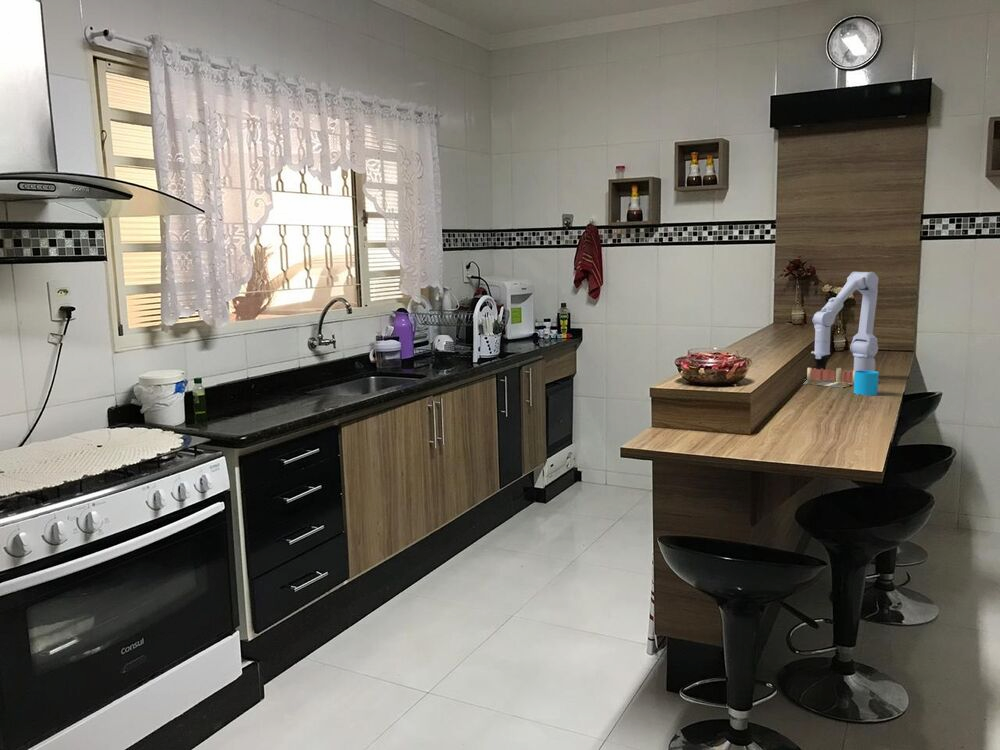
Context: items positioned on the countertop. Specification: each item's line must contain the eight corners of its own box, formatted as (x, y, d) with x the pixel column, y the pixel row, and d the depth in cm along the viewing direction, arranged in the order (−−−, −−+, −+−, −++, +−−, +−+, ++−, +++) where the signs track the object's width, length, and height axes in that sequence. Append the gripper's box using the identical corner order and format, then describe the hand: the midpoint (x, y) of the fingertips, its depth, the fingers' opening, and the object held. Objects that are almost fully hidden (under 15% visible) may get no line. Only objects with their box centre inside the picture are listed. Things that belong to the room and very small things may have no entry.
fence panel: (834, 381, 328) (834, 368, 328) (833, 381, 327) (834, 369, 326) (807, 379, 333) (807, 367, 333) (806, 380, 332) (807, 368, 331)
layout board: (818, 376, 344) (818, 375, 344) (865, 381, 331) (865, 380, 331) (794, 383, 328) (794, 382, 328) (843, 388, 314) (843, 387, 314)
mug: (875, 396, 297) (876, 374, 296) (851, 394, 301) (852, 372, 300) (881, 391, 307) (882, 370, 305) (857, 389, 311) (858, 368, 310)
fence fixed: (834, 383, 327) (835, 368, 326) (836, 382, 328) (837, 367, 328) (856, 385, 321) (856, 370, 320) (858, 384, 323) (858, 369, 322)
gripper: (815, 339, 337) (814, 371, 339) (808, 342, 325) (806, 376, 327) (833, 339, 333) (832, 372, 335) (826, 343, 321) (825, 377, 323)
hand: (821, 374), depth 331 cm, fingers closed, pressing on fence panel
